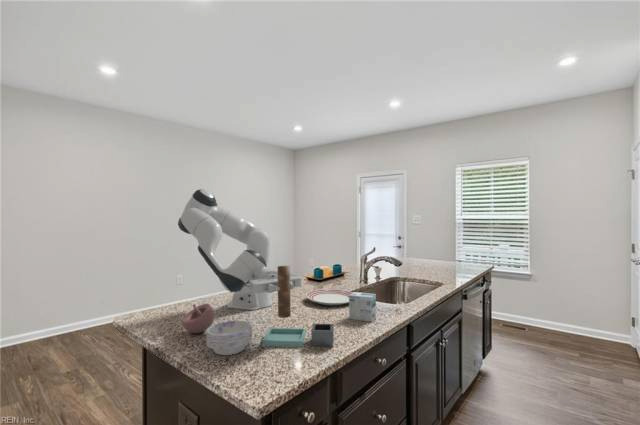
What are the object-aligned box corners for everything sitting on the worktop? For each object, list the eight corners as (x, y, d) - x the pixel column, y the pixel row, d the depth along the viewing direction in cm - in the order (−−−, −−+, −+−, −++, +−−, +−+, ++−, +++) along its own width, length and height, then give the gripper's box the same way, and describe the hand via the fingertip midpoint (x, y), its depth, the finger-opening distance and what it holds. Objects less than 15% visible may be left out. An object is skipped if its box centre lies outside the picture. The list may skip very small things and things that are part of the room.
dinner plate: (357, 294, 180) (357, 289, 180) (357, 309, 153) (357, 302, 153) (310, 293, 184) (310, 287, 184) (301, 307, 156) (301, 301, 156)
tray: (262, 347, 110) (262, 340, 110) (270, 334, 122) (270, 327, 122) (302, 348, 109) (302, 341, 109) (306, 335, 121) (305, 328, 121)
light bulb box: (376, 317, 140) (376, 293, 140) (372, 322, 134) (372, 297, 134) (353, 314, 145) (353, 291, 145) (348, 319, 139) (348, 294, 139)
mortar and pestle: (178, 331, 126) (178, 302, 126) (208, 324, 133) (208, 297, 133) (186, 341, 117) (186, 310, 117) (218, 333, 124) (218, 304, 124)
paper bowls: (232, 337, 119) (232, 316, 119) (261, 347, 111) (261, 324, 111) (196, 352, 107) (196, 329, 107) (225, 364, 98) (225, 339, 98)
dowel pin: (277, 317, 113) (276, 267, 114) (279, 313, 118) (279, 265, 118) (289, 317, 113) (288, 267, 113) (291, 313, 118) (290, 265, 118)
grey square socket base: (311, 348, 109) (311, 331, 109) (313, 339, 117) (313, 323, 117) (333, 348, 109) (333, 331, 109) (333, 340, 116) (333, 323, 116)
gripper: (244, 276, 121) (258, 282, 109) (291, 270, 132) (308, 275, 120) (244, 292, 121) (258, 301, 109) (291, 285, 132) (308, 292, 120)
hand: (285, 287), depth 115 cm, fingers closed on dowel pin, 4 cm apart
